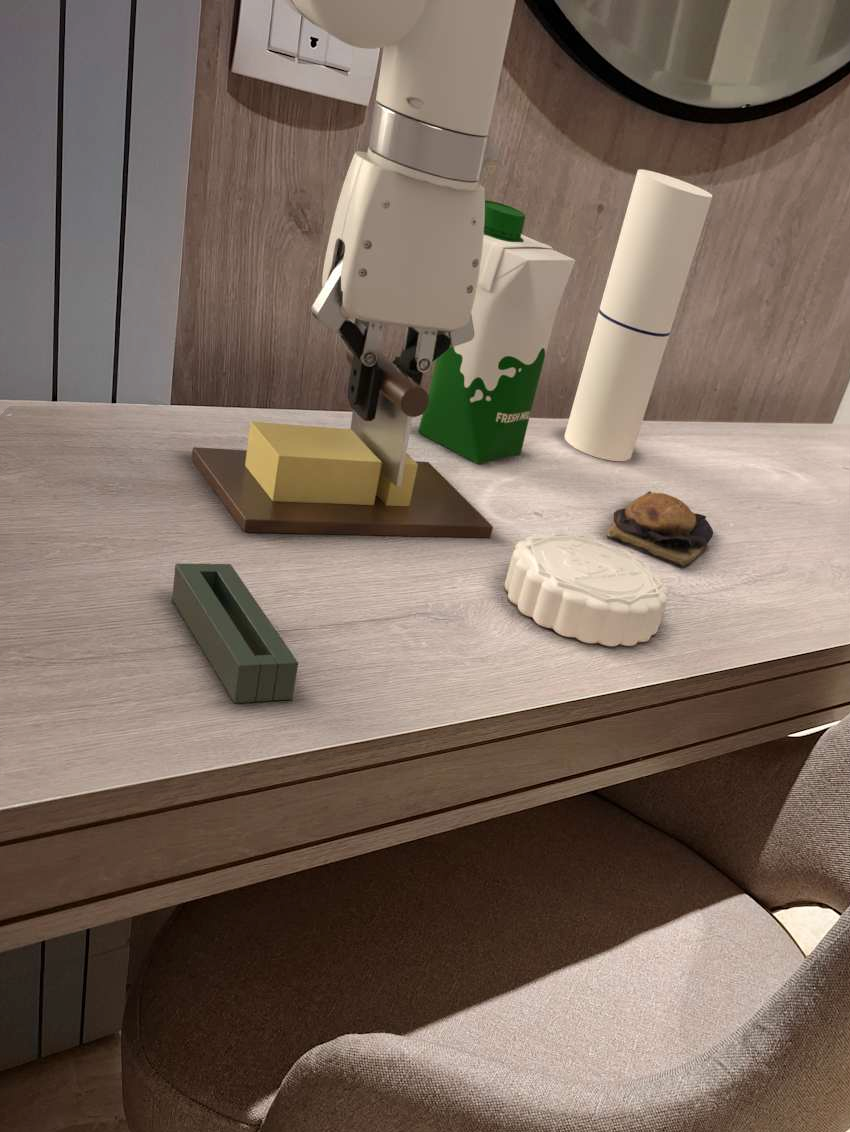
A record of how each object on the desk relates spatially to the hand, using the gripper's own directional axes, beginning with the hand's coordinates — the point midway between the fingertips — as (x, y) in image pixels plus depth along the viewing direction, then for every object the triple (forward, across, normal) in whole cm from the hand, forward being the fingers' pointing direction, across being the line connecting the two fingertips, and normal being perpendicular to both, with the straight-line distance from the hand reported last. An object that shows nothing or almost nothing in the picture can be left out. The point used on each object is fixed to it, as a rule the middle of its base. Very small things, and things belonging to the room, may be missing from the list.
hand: (379, 413), depth 89 cm
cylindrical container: (+7, -32, -15) cm, 36 cm away
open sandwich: (+7, -26, +5) cm, 28 cm away
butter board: (+7, +2, 0) cm, 7 cm away
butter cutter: (+4, 0, 0) cm, 4 cm away
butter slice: (+6, -1, 0) cm, 6 cm away
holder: (+7, +18, +21) cm, 28 cm away
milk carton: (+7, -16, -13) cm, 22 cm away
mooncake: (+7, -10, +17) cm, 21 cm away
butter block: (+6, +5, 0) cm, 8 cm away
